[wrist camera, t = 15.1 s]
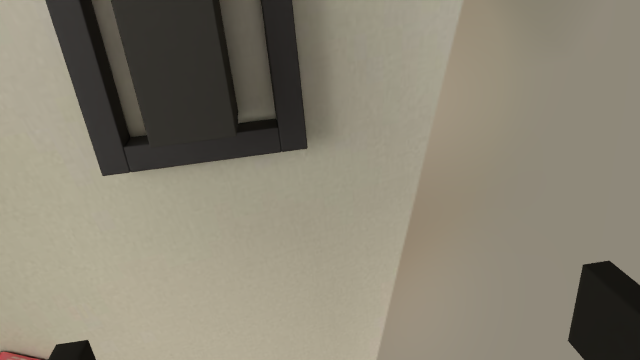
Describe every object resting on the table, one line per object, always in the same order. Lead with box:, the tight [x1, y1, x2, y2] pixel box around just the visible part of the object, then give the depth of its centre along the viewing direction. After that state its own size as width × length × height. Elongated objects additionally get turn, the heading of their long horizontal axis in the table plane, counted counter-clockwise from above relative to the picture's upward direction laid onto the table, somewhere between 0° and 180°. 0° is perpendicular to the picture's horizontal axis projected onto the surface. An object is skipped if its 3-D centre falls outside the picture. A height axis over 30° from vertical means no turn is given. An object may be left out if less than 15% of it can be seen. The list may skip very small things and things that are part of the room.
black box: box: [111, 0, 238, 148], centre depth 27 cm, size 5×8×5 cm, turn 5°
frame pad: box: [46, 0, 307, 176], centre depth 28 cm, size 14×13×2 cm
